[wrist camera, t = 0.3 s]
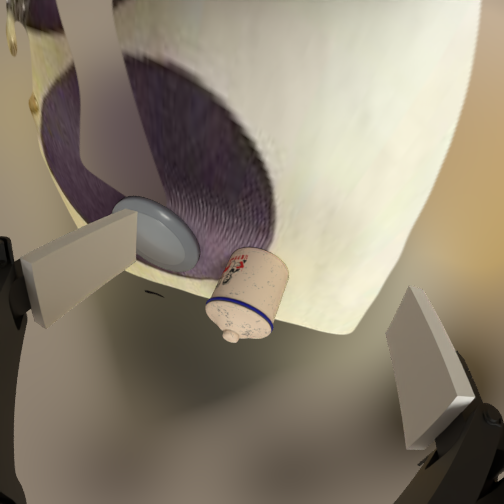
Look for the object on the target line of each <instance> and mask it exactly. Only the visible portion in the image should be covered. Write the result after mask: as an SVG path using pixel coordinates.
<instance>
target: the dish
mask: <svg viewBox="0 0 504 504" xmlns="http://www.w3.org/2000/svg"><path fill="white" fill-rule="evenodd" d="M123 209H129V210H133V211H137V212H138V213H137V234H136V253H137V254H138V255H140V256H141V257H142V258H144V259H145V260H147V261H149V262H150V263H152V264H154V265H156V266H158V267H161V268H163V269H166V270H170V271H175V272H185V271H189V270H191V269H192V268H194V266H195V265H196V263H197V261H198V260H199V257H200V247H199V244H198V241H197V239H196V237H195V235H194V234H193V232H192V231H191V229H190V228H189V227H188V226H187V225H186V224H185V223H184V222H183V221H182V220H181V219H180V218H179V217H178V216H177V215H176V214H175V213H173V212H172V211H171V210H169V209H168V208H166V207H165V206H163V205H161V204H159V203H157V202H155V201H153V200H150V199H148V198H144V197H140V196H128V197H125V198H123V199H121V200H120V201H119V202H118V203H117V205H116V206H115V207H114V209H113V212H112V214H114V213H116V212H118V211H121V210H123Z"/></svg>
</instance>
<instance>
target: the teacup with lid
mask: <svg viewBox="0 0 504 504" xmlns="http://www.w3.org/2000/svg"><path fill="white" fill-rule="evenodd" d="M288 278H289V272H288V269H287V267H286V265H285V264H284V263H283V262H282V261H281V260H280V259H279V258H278V257H276V256H275V255H273V254H272V253H270V252H267V251H265V250H262V249H258V248H251V247H247V248H241V249H238V250H236V251H235V252H234V253H233V254H232V256H231V258H230V260H229V262H228V264H227V266H226V268H225V270H224V272H223V274H222V276H221V278H220V280H219V282H218V284H217V286H216V288H215V290H214V292H213V294H212V296H211V298H210V299H209V300H208V301H207V302H206V312H207V315H208V316H209V318H210V319H211V320H212V321H213V322H214V323H216V324H217V325H218V326H219V327H220V329H221V330H223V331H224V333H223V338H224V339H225V340H227V341H229V342H232V343H236V342H237V341H238V340H239V338H254V339H258V338H259V339H260V338H264V337H267V336H268V335H269V334H270V332H272V330H273V322H274V319H275V316H276V314H277V311H278V308H279V305H280V302H281V299H282V296H283V293H284V290H285V288H286V285H287V282H288Z"/></svg>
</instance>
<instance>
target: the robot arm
mask: <svg viewBox="0 0 504 504" xmlns="http://www.w3.org/2000/svg"><path fill="white" fill-rule="evenodd" d="M137 213H138V212H137V211H133V210H129V209H123V210H121V211H118V212H116V213H114V214H111V215H109V216H106V217H104V218H102V219H99V220H97V221H95V222H92V223H90V224H88V225H86V226H83V227H81V228H79V229H77V230H75V231H73V232H70V233H68V234H66V235H64V236H62V237H60V238H58V239H55V240H53V241H52V242H49V243H47V244H45V245H43V246H41V247H39V248H37V249H35V250H33V251H31V252H29V253H28V254H26V255H24V256H22V257H21V258H20V259H18V260H17V261H15V262H14V257H13V251H12V244H11V240H10V238H8V237H3V236H0V504H26V498H25V494H24V491H23V489H22V486H21V484H20V482H19V481H18V479H17V477H16V473H15V466H14V407H15V395H16V384H17V377H18V369H19V362H20V355H21V350H22V344H23V339H24V334H25V330H26V325H27V314H26V312H27V311H28V310H30V309H31V310H32V314H33V317H34V321H35V322H37V323H38V324H39V325H41V326H42V327H44V328H45V329H47V328H48V327H49V326H51V325H52V324H53V323H54V322H56V321H57V320H58V319H60V318H61V317H62V316H63V315H65V314H66V313H67V312H68V311H70V310H71V309H72V308H74V307H75V306H76V305H78V304H79V303H80V302H81V301H83V300H84V299H85V298H87V297H88V296H89V295H91V294H92V293H93V292H95V291H96V290H97V289H99V288H100V287H101V286H103V285H104V284H106V283H107V282H108V281H110V280H111V279H112V278H114V277H115V276H117V275H118V274H119V273H121V272H122V271H123V270H125V269H126V268H128V267H129V266H131V265H132V264H133V263H135V262H136V234H137ZM386 338H387V342H388V346H389V351H390V355H391V360H392V364H393V368H394V373H395V378H396V384H397V389H398V395H399V400H400V406H401V413H402V419H403V425H404V433H405V441H406V449H413V450H416V449H417V450H424V449H426V448H427V447H428V446H429V445H430V444H431V443H432V442H433V441H434V440H435V442H436V447H437V448H436V449H435V450H434V451H433V452H432V453H430V454H429V455H428V456H427V457H426V458H424V459H423V460H422V461H421V462H420V463H419V464H418V466H420V465H422V464H423V463H424V464H423V466H422V467H421V468H420V470H419V471H418V473H417V474H416V476H415V477H414V478H413V480H412V481H411V482H410V484H409V485H408V486H407V488H406V489H405V490H404V491H403V493H402V494H401V495H400V496H399V498H398V499H397V500H396V501H395V502H394V504H504V478H502V479H501V480H500V481H497V480H498V475H499V474H501V473H502V472H503V471H504V423H503V419H502V416H501V414H500V413H499V411H498V410H497V409H496V408H495V407H494V406H492V405H490V404H488V403H483V402H482V399H481V397H480V394H479V392H478V389H477V387H476V384H475V382H474V380H473V379H472V375H471V373H470V371H468V370H469V369H468V366H467V364H466V362H465V360H464V359H463V357H462V356H461V355H460V354H459V353H458V351H456V350H455V349H454V347H453V345H452V343H451V341H450V339H449V337H448V335H447V333H446V331H445V329H444V327H443V325H442V323H441V321H440V320H439V318H438V316H437V314H436V312H435V310H434V308H433V306H432V305H431V303H430V301H429V299H428V297H427V296H426V294H425V292H424V290H423V289H421V288H418V287H414V286H410V285H409V286H408V288H407V291H406V293H405V295H404V297H403V299H402V301H401V304H400V306H399V308H398V310H397V312H396V314H395V316H394V318H393V320H392V322H391V324H390V326H389V328H388V330H387V332H386Z"/></svg>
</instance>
